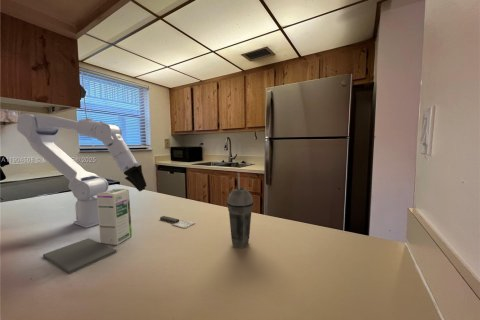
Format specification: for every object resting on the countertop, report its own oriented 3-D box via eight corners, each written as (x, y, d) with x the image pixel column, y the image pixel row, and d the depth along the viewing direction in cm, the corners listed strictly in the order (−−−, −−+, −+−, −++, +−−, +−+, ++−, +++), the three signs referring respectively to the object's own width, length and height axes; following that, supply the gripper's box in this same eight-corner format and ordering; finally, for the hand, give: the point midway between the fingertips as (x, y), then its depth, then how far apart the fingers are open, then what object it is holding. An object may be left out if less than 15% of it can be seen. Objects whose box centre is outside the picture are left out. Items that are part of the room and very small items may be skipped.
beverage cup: (256, 240, 59) (256, 171, 58) (249, 252, 52) (249, 174, 51) (232, 236, 61) (232, 170, 60) (223, 248, 55) (222, 173, 53)
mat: (43, 256, 51) (42, 254, 51) (88, 240, 60) (88, 238, 60) (69, 273, 44) (69, 270, 44) (116, 252, 53) (116, 249, 53)
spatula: (156, 221, 74) (156, 218, 74) (167, 217, 79) (167, 214, 78) (185, 228, 67) (185, 225, 67) (195, 223, 72) (195, 220, 72)
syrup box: (117, 245, 56) (114, 193, 55) (99, 243, 57) (96, 192, 56) (132, 236, 62) (130, 189, 61) (115, 234, 63) (113, 188, 62)
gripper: (134, 144, 67) (156, 179, 67) (133, 155, 79) (152, 185, 80) (111, 153, 63) (134, 191, 63) (114, 163, 75) (134, 195, 76)
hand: (143, 188), depth 71 cm, fingers open, 7 cm apart
